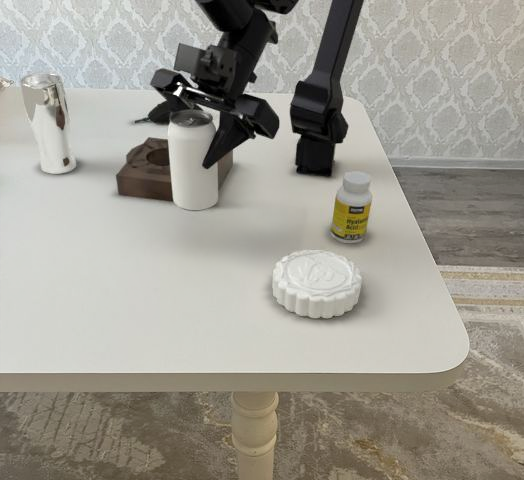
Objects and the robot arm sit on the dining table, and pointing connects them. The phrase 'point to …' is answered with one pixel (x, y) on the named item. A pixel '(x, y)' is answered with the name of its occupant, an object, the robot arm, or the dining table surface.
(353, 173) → the supplement bottle
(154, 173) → the holder board
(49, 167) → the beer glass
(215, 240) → the dining table surface
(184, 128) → the can
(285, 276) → the mooncake
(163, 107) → the gaming mouse
